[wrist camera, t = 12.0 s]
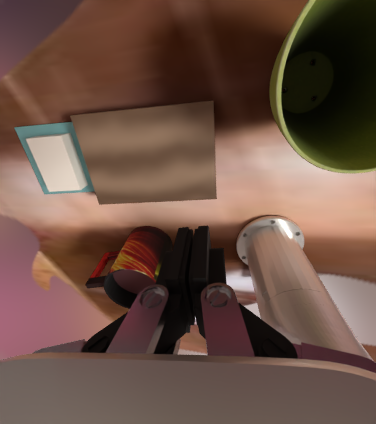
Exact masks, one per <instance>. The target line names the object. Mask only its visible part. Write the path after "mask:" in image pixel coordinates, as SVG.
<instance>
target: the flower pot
mask: <svg viewBox="0 0 376 424" xmlns="http://www.w3.org/2000/svg"><path fill="white" fill-rule="evenodd" d="M312 60H315V63H314V65H312V64H311V61H312ZM283 88H284V89H285V90H286V91H285V92H283V91H282V89H283ZM269 96H270V105H271V109H272V113H273V116H274V119H275V121H276V124H277V125H278V127H279V129H280V131H281V133H282V134H283V136H284V137H285V139H286V140H287V141H288V143H289V144H290V145H291V147H292V148H293V149H294V150H295V151H296V152H297V153H298V154H299V155H300V156H301V157H302V158H303V159H305V160H306V161H308V162H309V163H311V164H313V165H315V166H316V167H319V168H322V169H324V170H328V171H332V172H338V173H365V172H371V171H376V0H308V2H307V3H306V5H305V7H304V8H303V10H302V11H301V13H300V14H299V16H298V17H297V19H296V20H295V22H294V24H293V25H292V27H291V29H290V31H289V32H288V34H287V36H286V38H285V40H284V42H283V44H282V46H281V49H280V51H279V53H278V55H277V58H276V61H275V64H274V67H273V70H272V74H271V80H270V89H269ZM313 96H315V97H316V99H315V100H312V97H313Z"/></svg>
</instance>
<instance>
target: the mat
mask: <svg viewBox="0 0 376 424" xmlns="http://www.w3.org/2000/svg"><path fill="white" fill-rule="evenodd" d="M15 130H16V132H17V135H18V137H19V139H20V141H21V143H22V146H23V148H24V150H25V152H26V154H27V157H28V159H29V161H30V163H31V165H32V168H33V170H34V172H35V174H36V176H37V179H38V181H39V183H40V185H41V187H42V190H43V192H44V194H58V193H76V192H94V191H95V190H94V187H93V184H92V181H91V178H90V175H89V172H88V169H87V166H86V163H85V159H84V156H83V153H82V150H81V147H80V144H79V141H78V138H77V135H76V132H75V129H74V126H73V123H72V122H64V123H54V124H44V125H34V126H23V127H15ZM65 133H71V136H72V139H73V142H74V145H75V148H76V151H77V154H78V157H79V160H80V163H81V166H82V169H83V172H84V175H85V178H86V180H87V183H88V185H87V186H86V187H84V188H83V189H82V190H74V191H56V192H49V191H48V188H47V186H46V184H45V182H44V179H43V177H42V175H41V173H40V170H39V168H38V166H37V163H36V161H35V159H34V157H33V154H32V152H31V150H30V148H29V145H28V143H27V141H26V139H27V138H31V137H35V136H43V135H54V134H65Z"/></svg>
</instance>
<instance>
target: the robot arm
mask: <svg viewBox="0 0 376 424" xmlns="http://www.w3.org/2000/svg"><path fill="white" fill-rule="evenodd" d="M303 246H304V235H303V233H302V231H301V229H300V228H299V227H298V225H297V224H296V223H294V222H293V221H291V220H290V219H287V218H285V217H280V216H266V217H261V218H258V219H256V220H254V221H252V222H250V223H249V224H247V225H246V226H245V227H244V228H243V229H242V230H241V232H240V233H239V235H238V237H237V241H236V248H237V253H238V255H239V257H240V259H241V260H242V261H243V262H244V263H245V264H247V265H249V270H250V274H251V278H252V282H253V287H254V291H255V295H256V299H257V304H258V308H259V312H260V316H261V319H260V318H259V317H258V316H256V315H255V314H253V313H252V312H251V311H249V310H248V309H246V308H245V307H244V306H242V305H241V304H240V303H238V301H237V297H236V294H235V292H234V290H233V289H232V288H231V287H230V286H229V285H227V284H226V272H225V260H224V248H213V249H211V243H210V235H209V227H208V226H199V227H198V229H195V233H194V235H193V230H192V229H190V230H189V227H183V228H179V229H178V232H177V236H176V240H175V244H174V247H173V251H166V252H165V255H164V258H163V261H162V264H161V267H160V271H159V274H158V277H157V280H156V283H155V285H151V286H148V287H146V288H144V289H143V290H142V291H140V293H139V294H138V296H137V297H136V299H135V301H134V303H133V304H132V306H131V308H130V310H129V311H128V312H127V313H126V314H124V315H123V316H121V317H120V318H118V319H117V320H115V321H114V322H112V323H111V324H109V325H108V326H107V327H105V328H104V329H102V330H101V331H99V332H98V333H96V334H95V335H94V336H92V337H91V338H90V339H89V340H88V341H85V339H83V340H78V341H74V342H70V343H65V344H60V345H56V346H52V347H47V348H43V349H40V350H38V351H35V352H34V353H32V354H26V355H20V356H15V357H11V358H7V359H3V360H0V424H376V363H375V362H374V361H373V360H372V358H371V357H370V356H369V354H368V353H367V351H366V350H365V349H364V347H363V346H362V345H361V343H360V342H359V340H358V339H357V337H356V336H355V334H354V333H353V331H352V330H351V328H350V327H349V325H348V324H347V322H346V320H345V319H344V317H343V316H342V314H341V313H340V311H339V310H338V308H337V306H336V304H335V303H334V301H333V300H332V298H331V296H330V295H329V293H328V291H327V290H326V288H325V286H324V285H323V283H322V281H321V280H320V278H319V276H318V275H317V273H316V271H315V270H314V268H313V266H312V265H311V263H310V262H309V260H308V258H307V257H306V255H305V253H304V252H303V250H302V249H303ZM195 316H196V321H197V325H198V327H199V333H200V334H201V335H202V336H203V337H204V338H205V339H206V345H207V353H208V355H177V353H178V350H179V347H180V341H181V340H180V338H181V337H182V336H183V335H184V334H185V333H190V326H191V325H194V323H195Z"/></svg>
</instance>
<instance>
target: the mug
mask: <svg viewBox="0 0 376 424" xmlns="http://www.w3.org/2000/svg"><path fill="white" fill-rule="evenodd" d="M172 249H173V245H172V241H171V239H170V237H169V236H168V235H167V234H166V233H165V232H164V231H162V230H160V229H158V228H156V227H151V226H143V227H139V228H136V229H135V230H133V231H132V232H131V234H130V235H129V237H128V239H127V241H126V242H125V244H124V246H123V248H122V249H121V251H115V252H108V253H105V254H104V256H103V257H102V259H101V261H100V262H99V264H98V266H97V267H96V269H95V270H94V272H93V274H92V275H91V277H90V278H89V280H88V281H87V283H86V284H85V285H86V286H87V288H95V287H102V286H104V289H105V292H106V294H107V295H108V296H109V298H110V299H111V300H113V301H114V302H115V303H117V304H118V305H121V306H123V307H125V308H129V309H130V308H131V306H132V304H133V303H134V301H135V299H136V297H137V296H138V294H139V293H140V291H142V290H143V289H144V288H146V287H148V286H151V285H155V283H156V280H157V277H158V274H159V271H160V267H161V264H162V261H163V258H164V255H165V252H166V251H172ZM114 259H116V260H115V262H114V264H113V266H112V267H111V269H110V271H109V273H108V275H107V276H101V277H99V276H100V274H101V272H102V271H103V269H104V267H105V266H106V264H107V262H108V261H109V260H114Z"/></svg>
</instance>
